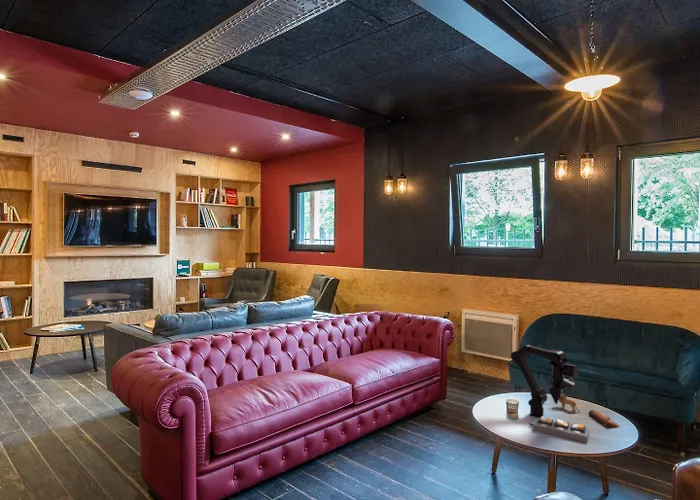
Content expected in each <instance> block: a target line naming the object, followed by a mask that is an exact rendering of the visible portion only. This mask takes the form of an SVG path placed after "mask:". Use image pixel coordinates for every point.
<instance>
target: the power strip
mask: <svg viewBox="0 0 700 500" xmlns="http://www.w3.org/2000/svg"><path fill="white" fill-rule="evenodd" d="M540 419H541V417H539V418H536V420H535V422H534V423H533V422H532V423H531V422H529V426H530V427H531V426H532V427H533V428H532V429H533V431H534V432H539V433H542V434H546V435H547V434H548V435H552V436H557V437H562V438H565V439H569V440H570V439H571V440H575V441H580V442H584V443H588V441H589V438H590V429H589V428H587V426H585V425H584V428H583V429H577V428H572V426H573V424H574V423H571V425H570V423H569V422H565V421H564V422H565V423H567V424H568V425H567V426H563V425H559V424H557V423H556V422H557V420H555V421H554V419H551V420H552V422H551V423H548V422H544V421H541V420H540Z"/></svg>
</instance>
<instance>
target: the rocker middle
mask: <svg viewBox="0 0 700 500" xmlns="http://www.w3.org/2000/svg"><path fill="white" fill-rule="evenodd" d="M556 421H557V422H556V423H557V424H559V425H563V426H567V425H568V424H567V423H568V422H566V423H565V421H563V420H561V419H559V418H558V419H557V420H556Z"/></svg>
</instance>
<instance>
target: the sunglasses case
mask: <svg viewBox="0 0 700 500" xmlns="http://www.w3.org/2000/svg"><path fill="white" fill-rule="evenodd" d="M588 415H589V416H590V417H592V418H594V419H595V420H596V421H598V422H600V423H601V424H602V425H604V426H605V427H606V428H607V429H616V428H617V429H619V428H621V426H620V424H618V423H616V422H615V421H614V420H613V419H611V417H610V416H608V415H607V414H605V413H603V412H600V411H597V410H593V409H591V410H589V411H588ZM618 427H619V428H618Z"/></svg>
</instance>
